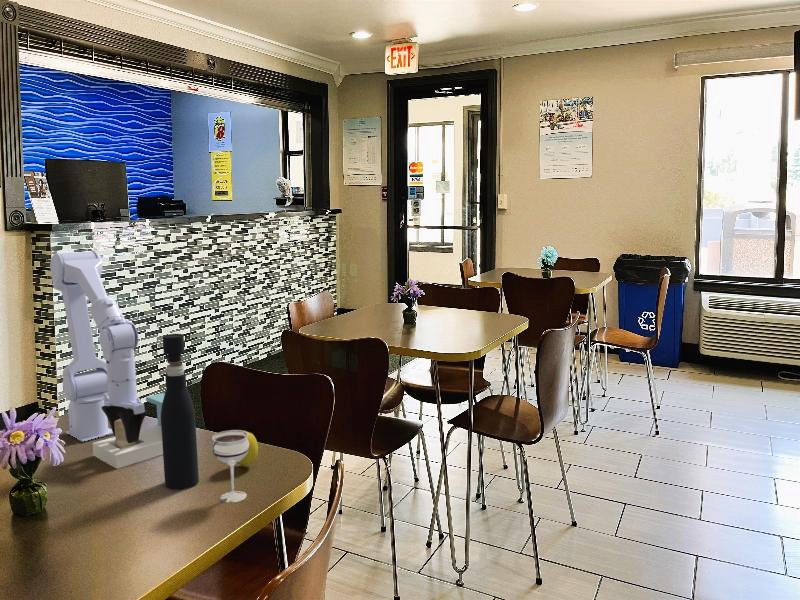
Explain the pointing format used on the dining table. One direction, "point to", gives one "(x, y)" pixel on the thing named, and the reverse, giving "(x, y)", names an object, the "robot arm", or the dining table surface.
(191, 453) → the wine bottle
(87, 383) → the robot arm
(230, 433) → the wineglass
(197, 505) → the dining table surface
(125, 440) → the peg
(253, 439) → the lemon
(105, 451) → the socket block
